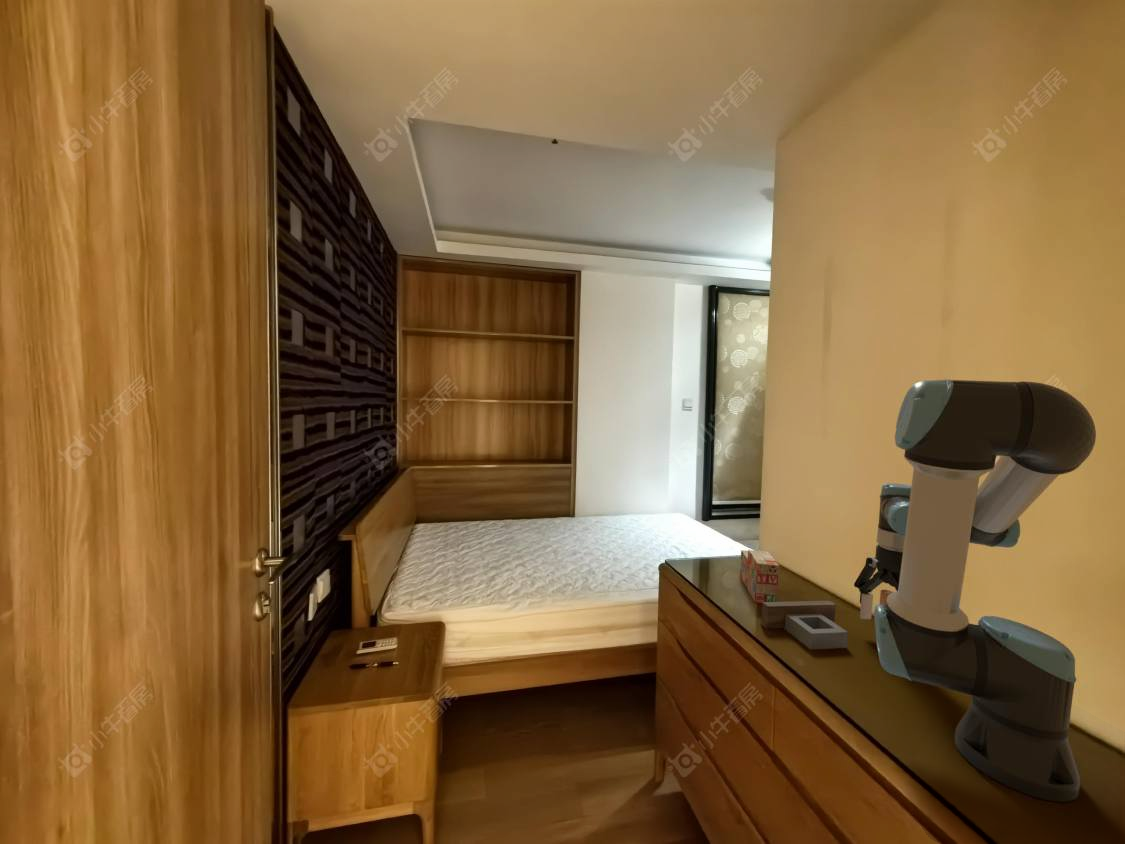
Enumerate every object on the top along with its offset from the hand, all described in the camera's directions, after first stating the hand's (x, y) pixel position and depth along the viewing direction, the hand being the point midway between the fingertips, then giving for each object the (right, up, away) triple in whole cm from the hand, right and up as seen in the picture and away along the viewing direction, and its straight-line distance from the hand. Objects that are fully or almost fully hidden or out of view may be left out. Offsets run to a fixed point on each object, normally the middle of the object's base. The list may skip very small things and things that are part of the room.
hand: (887, 631), depth 116 cm
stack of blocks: (-19, -2, +34) cm, 38 cm away
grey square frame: (-16, -3, +4) cm, 17 cm away
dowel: (0, -4, 0) cm, 4 cm away
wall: (-17, -3, +10) cm, 20 cm away
